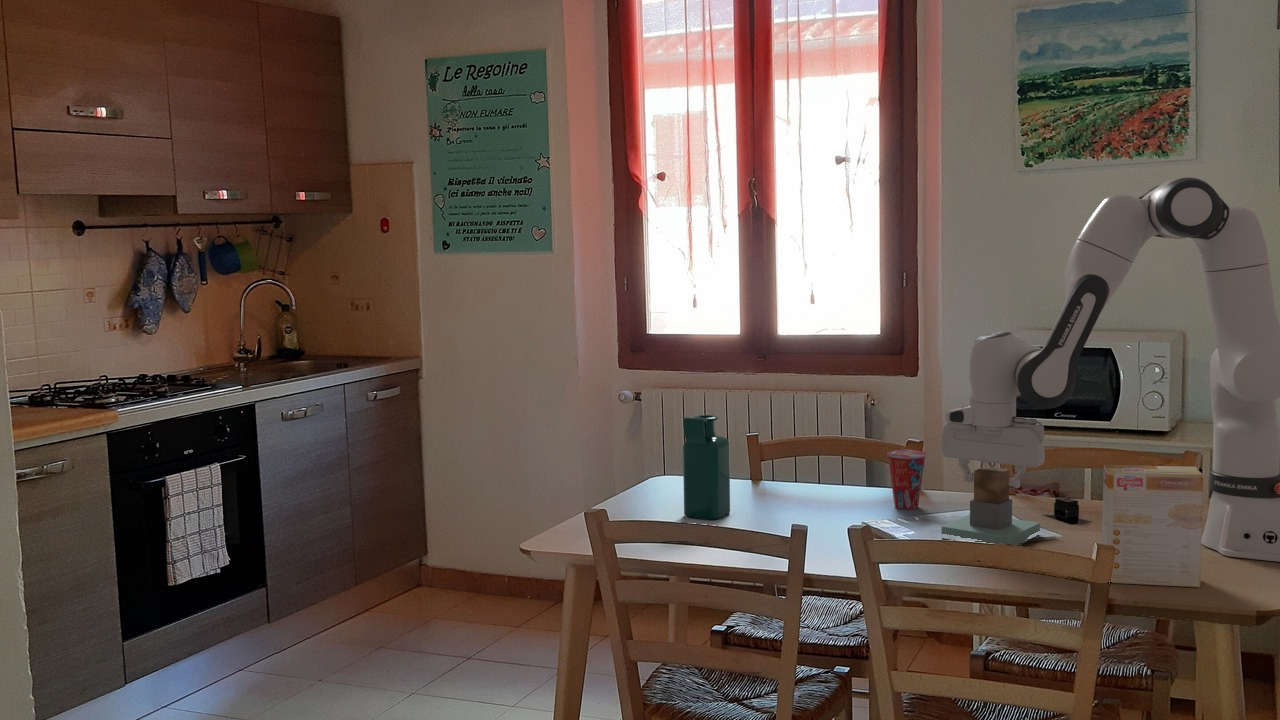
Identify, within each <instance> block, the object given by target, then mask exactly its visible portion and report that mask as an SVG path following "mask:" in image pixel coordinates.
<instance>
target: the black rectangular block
mask: <svg viewBox="0 0 1280 720" xmlns="http://www.w3.org/2000/svg"><path fill="white" fill-rule="evenodd" d="M1054 499H1055V501H1054V504H1053V512H1052V513H1044V514H1042V516H1043V517H1046V518H1049V519H1051V520H1052V519H1053V520H1055V521H1058V522H1062V523H1065V524H1068V525H1071V526H1074V525H1081V524H1087V523H1088V524H1089V523H1093V521H1091V520H1088V519H1085V518H1082V517H1080V504H1079V500H1077V499H1074V498H1070V497H1066V496H1065V497H1064V496H1063V497H1057V498H1054Z"/></svg>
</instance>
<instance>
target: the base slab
mask: <svg viewBox="0 0 1280 720" xmlns="http://www.w3.org/2000/svg"><path fill="white" fill-rule="evenodd" d="M1040 528H1041V522H1038V521H1037V522H1036V521H1029V520H1023V519H1017V518H1016V519H1015V518H1012V524H1011V525H1009V526H1006V527H1004V528H1002V529H1000V530H995V529H989V528H983V527H977V526H970V514H968V515H965V516H963V517H960V518H958V519H955V520H953V521H951V522H949V523H947V524H943V525H942V526H941V535H942V534H947V535H948V534H949V535H954V536H960V537H961V538H971V539H977V540H982V541H975V542H986V543H1003V544H1011V545H1019V546H1021V545H1022V544H1020V543H1023V544H1025V543H1024V541H1025V539H1027V538H1028V537H1029V536H1030V535H1032V534H1034V533H1036V532H1038V531H1041V530H1040Z"/></svg>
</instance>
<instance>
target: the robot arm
mask: <svg viewBox="0 0 1280 720" xmlns="http://www.w3.org/2000/svg"><path fill="white" fill-rule="evenodd" d="M1221 197H1222V196H1220V195H1219V194H1218V192H1217V191H1216V190H1215V189H1214V188H1213V186H1212V185H1210V184H1209V183H1208V182H1206V181H1204V180H1202V179H1200V178H1196V177H1177V178H1172V179H1169V180H1167V181H1164V182H1162V183H1161V184H1159V185H1156V186H1154V187H1153V188H1152V189H1151V188H1150V190H1148V191H1147V192H1145V193H1144V194H1142V195H1141V196H1139V197H1138V198H1137V197H1134V196H1132V195H1130V194H1129V195H1127V194H1121V193H1120V194H1119V193H1118V194H1111V195H1109V196H1106V197H1105V198H1104V199H1102V201H1101V202H1100V204H1099V205H1098V206H1097V207H1096V209H1095V210H1094V212H1093V213H1092V214H1091V215H1090V217H1089V218H1088V220H1087V221H1086V222H1085V224H1084V226H1083V228H1082V229H1081V231H1080V232H1079V234H1078V237H1077V239H1076V240H1075V242H1074V244H1073V247H1072V248H1071V251H1070V253H1069V255H1068V259H1067V262H1066V265H1065V269H1064V274H1063V275H1064V285H1065V298H1064V302H1063V307H1062V309H1061V311H1060V314H1059V316H1058V318H1057V320H1056V321H1055V324H1054V326H1053V327H1052V330H1051V331H1050V334H1049V336H1048V338H1047V340H1046V342H1045V344H1044V346H1043V347H1039V346H1036V345H1034V344H1032V343H1028V342H1026V341H1024V340H1022V339H1020V338H1019V337H1017V336H1016V335H1015V334H1014V333H1012V332H1010V331H996V332H990V333H986V334H982V335H980V336H979V337H977V338H976V339H975V340H974V341H973V343H972V345H971V348H970V356H969V367H968V368H969V370H968V371H969V373H968V375H969V381H970V382H969V383H970V387H971V388H970V393H969V397H968V405H962V406H960V407H958V408H953V409H951V410H949V411H946V412H945V414H944V418H945V419H944V420H945V422H946V423H945V424H944V426H943V427H942V432H941V440H940V450H941V454H942V456H943V457H944V458H950V459H958V461H957V462H958V466H959V467H960V469H961V471H962V473H963V482H965V483H967V482H968V483H974V471H973V472H972V470H971V469H970V467H969V465H968V464H970V463H971V461H975V462H982V463H983V462H984V463H991V464H999V465H1008V466H1014V472H1016V474H1015V475H1014V477H1011V478H1010V477H1009V489H1010V488H1013V489H1018V488H1020V486H1021V478H1023V476H1024V474H1025V473H1026V471H1027V468H1032V469H1033V468H1039V467H1040V466H1042V464H1044V463H1045V461H1046V455H1045V454H1046V453H1045V445H1044V444H1045V443H1044V439H1045V427H1044V425H1043V424H1042V422H1040V421H1038V419H1035V418H1024V417H1019V416H1017V397H1018V396H1021V398H1023V400H1024V401H1025V402H1026V403H1027V404H1029V405H1031V406H1032V407H1034V408H1038V409H1042V410H1047V409H1048V410H1049V409H1055V408H1057V407H1060V406H1062V405H1063V404H1065V403H1066V402H1067V401H1068V400H1069V399H1070V398H1072V395H1073V393H1074V391H1075V388H1076V381H1077V367H1078V362H1079V358H1080V357H1081V353H1082V351H1083V350H1084V347H1085V346H1086V344H1087V341H1088V339H1089V338H1090V336H1091V333H1092V331H1093V328H1094V326H1095V325H1096V323H1097V321H1098V319H1099V316H1100V315H1101V313H1102V312H1103V310H1104V308H1105V307H1106V306H1107V304H1108V303H1109V301H1110V300H1111V298H1112V297H1113V295H1115V293H1116V292H1117V290H1118V289H1119V288H1120V286H1121V285H1122V283H1123V281H1124V280H1125V279H1126V276H1127V275H1128V273H1129V272H1130V271H1131V268H1132V266H1133V264H1134V262H1135V260H1136V259H1137V257H1138V255H1139V253H1140V250H1141V249H1142V248H1143V246H1144V245H1145V244H1146V243H1147V241H1149V240H1150V239H1151V238H1152V237H1157V238H1158V237H1159V238H1164V239H1175V240H1180V239H1187V238H1188V239H1191V240H1192V241H1194V243H1195V245H1196V246H1197V249H1198V250H1199V254H1200V255H1201V257H1200V258H1201V268H1202V269H1201V270H1202V278H1203V285H1204V292H1205V299H1206V306H1207V308H1206V309H1207V314H1208V316H1209V320H1210V324H1211V327H1212V333H1213V335H1214V340H1215V344H1216V348H1215V349H1214V351H1213V352H1212V354H1211V356H1210V361H1209V377H1210V379H1209V381H1210V383H1209V385H1210V401H1211V403H1210V404H1211V411H1212V412H1211V414H1212V424H1213V430H1212V431H1213V432H1212V433H1213V437H1212V439H1213V440H1212V441H1213V442H1212V443H1213V444H1212V469H1210V470H1209V476H1208V485H1207V486H1208V489H1207V490H1208V498H1209V507H1208V512H1207V518H1206V522H1205V526H1204V530H1203V531H1202V537H1201V545H1203V546H1204V547H1207V548H1209V549H1212V550H1215V551H1217V552H1219V553H1220V555H1223V556H1226V557H1230V558H1231V557H1232V558H1233V557H1234V558H1242V559H1249V560H1250V559H1251V560H1261V561H1269V562H1279V563H1280V473H1279V472H1280V471H1279V469H1280V468H1279V467H1280V427H1279V423H1278V414H1277V413H1278V412H1277V406H1276V400H1278V399H1279V398H1280V321H1279V317H1278V314H1277V313H1278V312H1277V309H1276V305H1275V299H1274V298H1275V297H1274V290H1273V283H1272V282H1273V281H1272V276H1271V268H1270V263H1269V262H1270V260H1269V254H1268V249H1267V244H1266V240H1265V236H1264V232H1263V230H1262V226H1261V223H1260V220H1259V218H1258V216H1257V215H1256V213H1255V212H1253V211H1252V210H1251V209H1248V208H1246V207H1241V206H1229V205H1228V204H1227V203H1226V202H1225V201H1224V200H1223V199H1222V198H1221Z"/></svg>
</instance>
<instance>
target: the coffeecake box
mask: <svg viewBox="0 0 1280 720" xmlns="http://www.w3.org/2000/svg"><path fill="white" fill-rule="evenodd" d="M1102 476H1103V477H1102V478H1103V482H1102V483H1103V484H1102V487H1103V488H1102V489H1103V490H1102V530H1101V532H1102V533H1101V534H1102V537H1101V538H1102V540H1101V544H1105V545H1113V546H1115V560H1114V568H1113V576H1112V583H1111V584H1124V585H1125V584H1127V585H1128V584H1129V585H1142V586H1143V585H1144V586H1145V585H1146V586H1163V587H1164V586H1167V587H1169V586H1170V587H1184V588H1186V587H1187V588H1200V587H1201V573H1202V572H1201V571H1202V543H1201V538H1202V535H1203V531H1202V528H1203V497H1204V496H1203V493H1204V492H1203V491H1204V489H1203V487H1204V486H1203V485H1204V474H1203V473H1202V472H1201V471H1199V470H1198V468H1197V466H1180V465H1179V466H1176V465H1175V466H1173V465H1171V466H1170V465H1169V466H1167V465H1165V466H1164V465H1134V464H1133V465H1131V464H1130V465H1125V464H1121V465H1119V464H1104V465H1103V475H1102Z"/></svg>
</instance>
